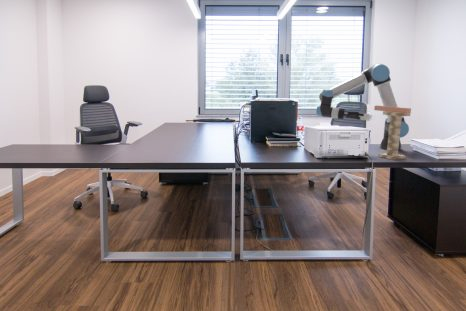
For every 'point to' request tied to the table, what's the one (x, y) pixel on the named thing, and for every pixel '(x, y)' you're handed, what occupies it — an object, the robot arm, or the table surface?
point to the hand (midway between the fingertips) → (369, 117)
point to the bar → (393, 109)
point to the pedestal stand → (394, 136)
